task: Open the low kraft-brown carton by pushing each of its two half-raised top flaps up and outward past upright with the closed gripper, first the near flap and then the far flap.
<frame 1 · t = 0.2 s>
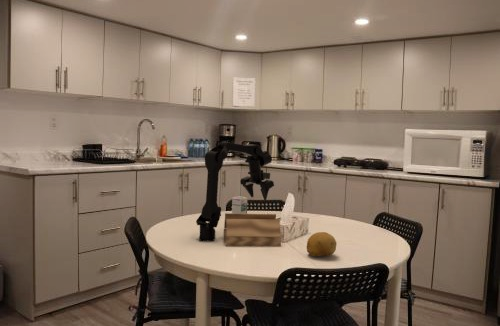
hand: (258, 198, 218), 15 cm above the table, tool pointing down, fingers open, 9 cm apart
syrup box: (239, 224, 227), on the table
carton: (251, 241, 195), on the table
near flap: (253, 227, 189), point 8 cm above the table, hinge at 55.0°
far flap: (250, 221, 200), point 8 cm above the table, hinge at 68.0°
potato: (321, 256, 176), on the table
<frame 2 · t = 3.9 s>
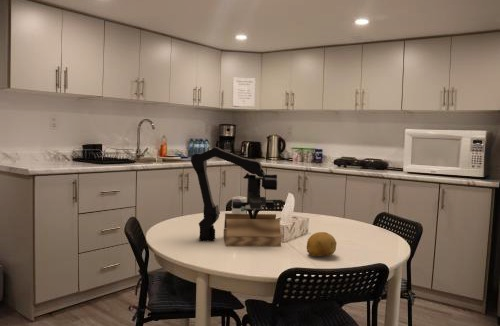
hand: (252, 223, 192), 9 cm above the table, tool pointing down, fingers closed, pressing on near flap
near flap: (253, 227, 189), point 8 cm above the table, hinge at 55.4°, touching gripper
everything else where it was.
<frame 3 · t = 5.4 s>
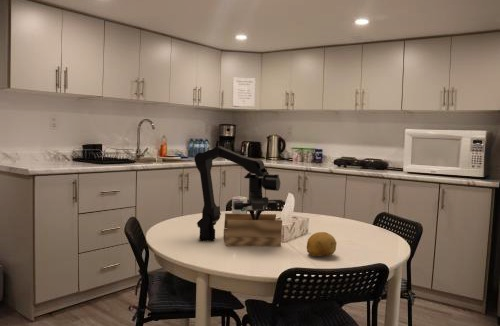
hand: (254, 224, 186), 9 cm above the table, tool pointing down, fingers closed, pressing on near flap
near flap: (254, 228, 185), point 8 cm above the table, hinge at 101.7°, touching gripper
everything else where it was.
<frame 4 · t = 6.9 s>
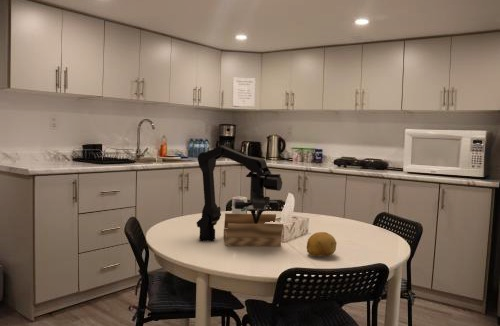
hand: (255, 224, 183), 10 cm above the table, tool pointing down, fingers closed
near flap: (254, 230, 184), point 7 cm above the table, hinge at 122.0°
everything else where it was.
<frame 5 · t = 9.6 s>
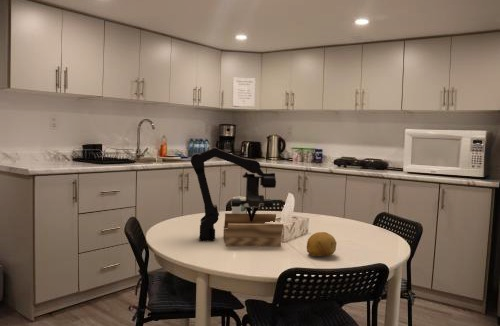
hand: (251, 221, 197), 9 cm above the table, tool pointing down, fingers closed, pressing on far flap
far flap: (250, 221, 200), point 8 cm above the table, hinge at 68.0°, touching gripper
everything else where it was.
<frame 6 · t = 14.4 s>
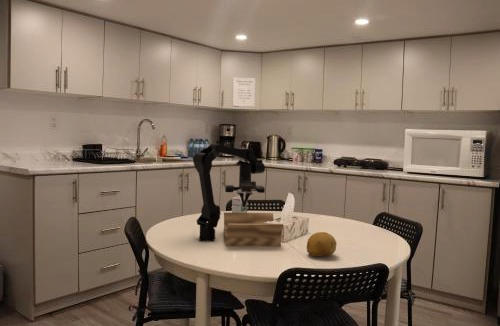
hand: (244, 206, 208), 13 cm above the table, tool pointing down, fingers closed
far flap: (249, 220, 204), point 7 cm above the table, hinge at 126.1°
everything else where it was.
at the end: near flap at +122° (first picture: +55°); far flap at +126° (first picture: +68°) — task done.
